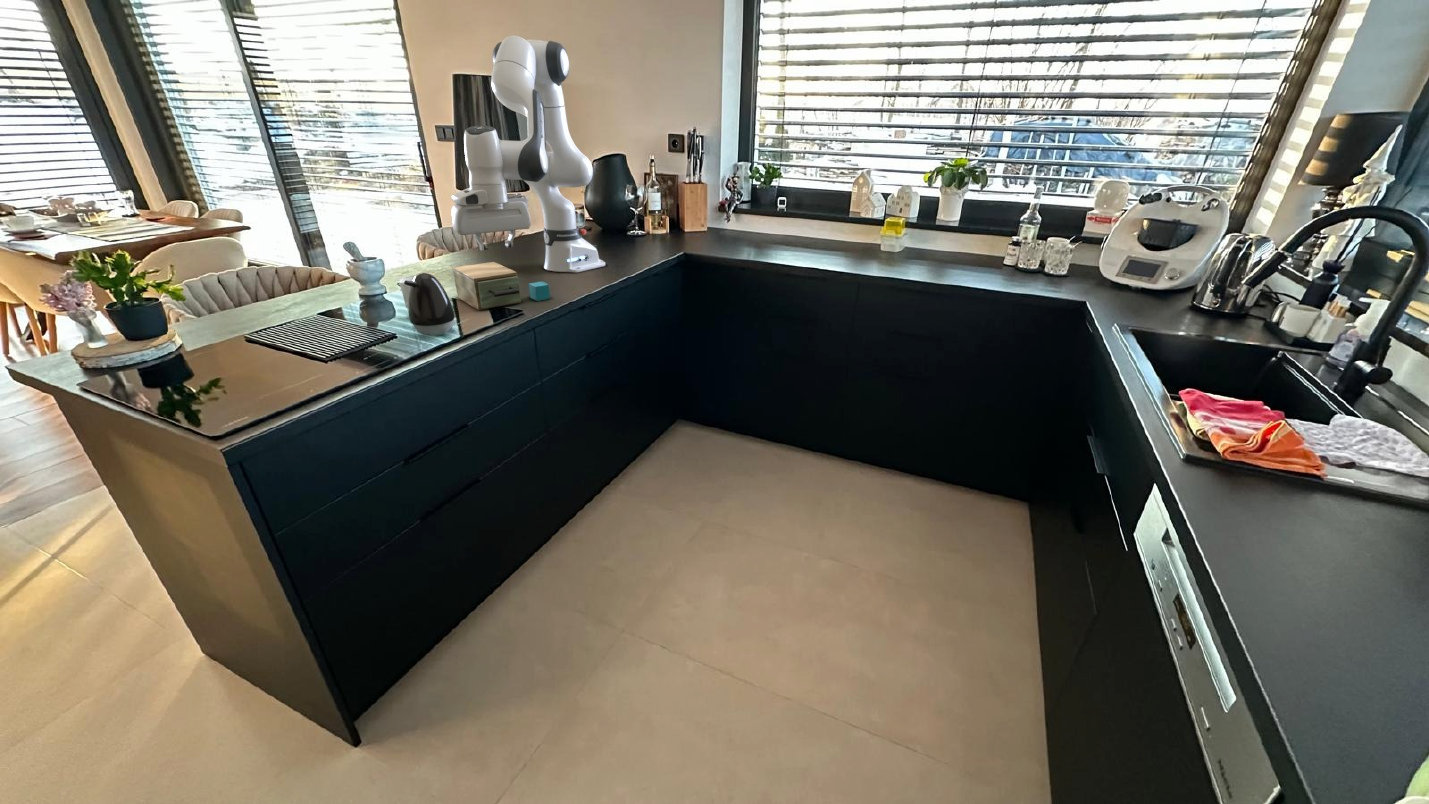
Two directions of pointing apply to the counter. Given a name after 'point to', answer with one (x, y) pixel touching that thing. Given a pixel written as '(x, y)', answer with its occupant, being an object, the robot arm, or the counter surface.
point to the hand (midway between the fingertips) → (496, 248)
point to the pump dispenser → (429, 305)
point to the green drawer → (498, 291)
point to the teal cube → (539, 291)
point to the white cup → (406, 290)
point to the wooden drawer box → (473, 273)
